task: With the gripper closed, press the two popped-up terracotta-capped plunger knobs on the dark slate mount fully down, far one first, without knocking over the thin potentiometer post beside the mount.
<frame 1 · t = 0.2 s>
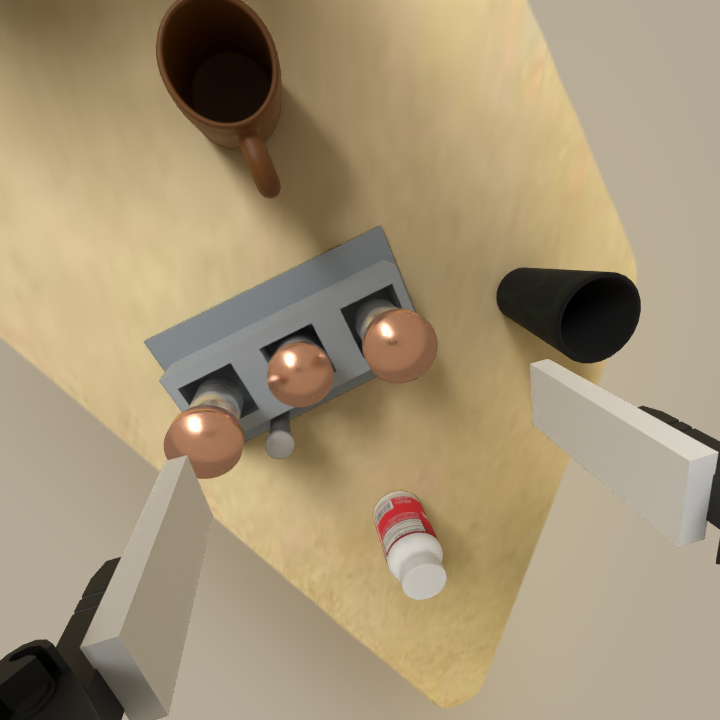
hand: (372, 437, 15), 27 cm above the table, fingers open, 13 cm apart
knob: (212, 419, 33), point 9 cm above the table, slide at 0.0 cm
cup: (519, 293, 45), on the table
pill bottle: (395, 508, 51), on the table
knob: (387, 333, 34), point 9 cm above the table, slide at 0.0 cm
mount: (296, 344, 42), on the table
mug: (246, 130, 35), on the table
pot post: (280, 412, 43), point 1 cm above the table, touching mount
knob mid: (298, 360, 37), point 5 cm above the table, slide at 4.0 cm
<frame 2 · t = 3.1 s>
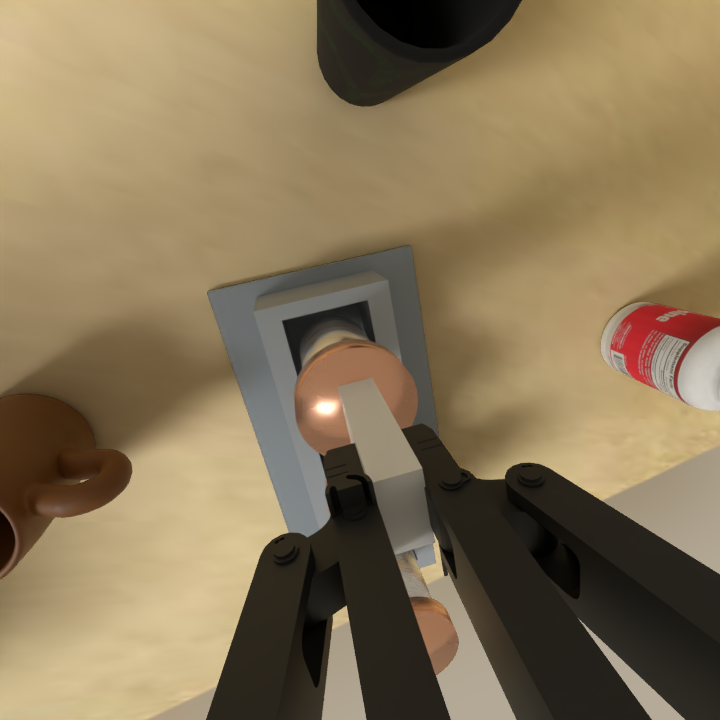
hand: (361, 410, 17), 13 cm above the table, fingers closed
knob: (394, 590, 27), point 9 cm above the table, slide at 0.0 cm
cup: (363, 53, 24), on the table
pill bottle: (627, 335, 35), on the table
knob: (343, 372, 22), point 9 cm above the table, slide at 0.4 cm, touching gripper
mount: (348, 423, 32), on the table
mug: (74, 432, 29), on the table
knob mid: (360, 458, 28), point 5 cm above the table, slide at 4.0 cm
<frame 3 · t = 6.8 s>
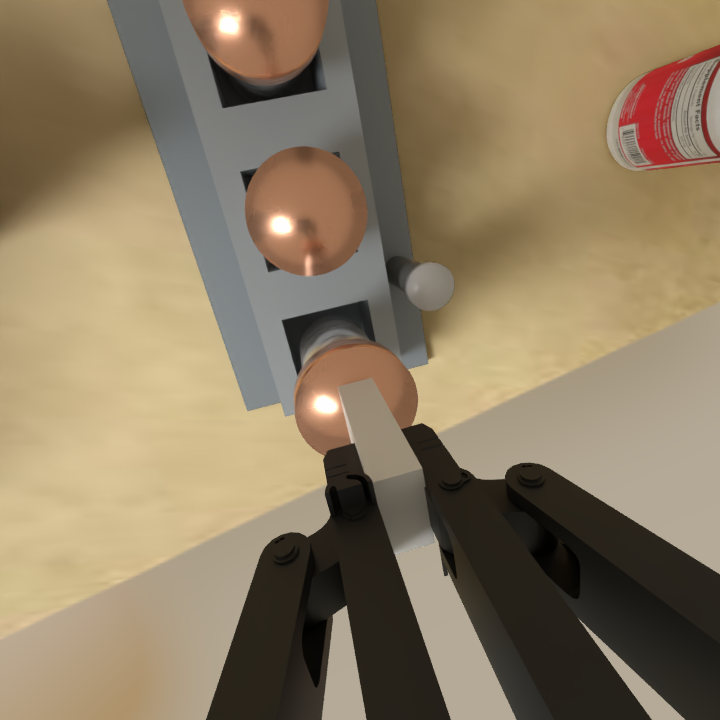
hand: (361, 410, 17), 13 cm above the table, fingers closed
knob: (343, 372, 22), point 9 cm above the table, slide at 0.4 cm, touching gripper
pill bottle: (639, 124, 29), on the table
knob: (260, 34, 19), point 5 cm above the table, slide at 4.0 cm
mount: (298, 213, 27), on the table
pot post: (397, 270, 28), point 1 cm above the table, touching mount
knob mid: (302, 213, 22), point 5 cm above the table, slide at 4.0 cm
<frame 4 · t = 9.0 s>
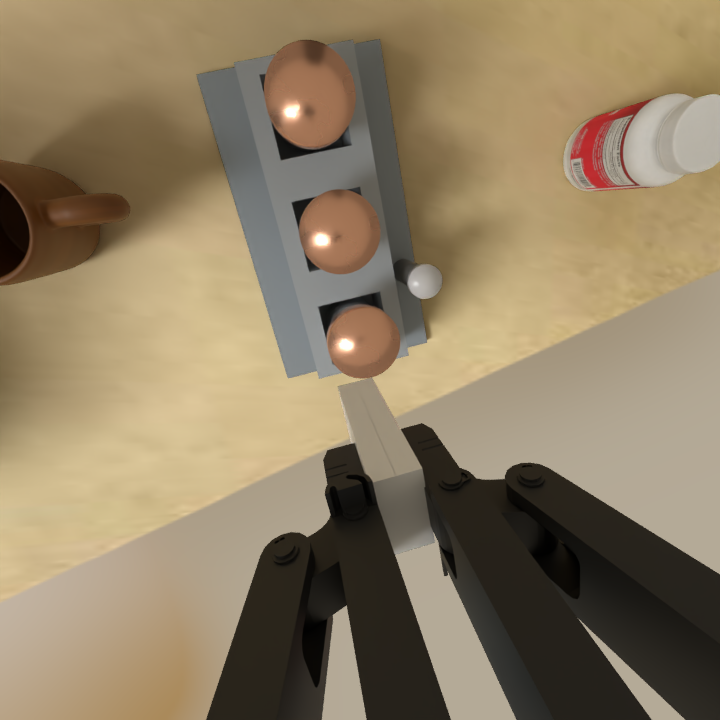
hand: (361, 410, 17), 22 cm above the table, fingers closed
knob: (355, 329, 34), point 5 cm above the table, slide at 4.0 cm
pill bottle: (589, 155, 37), on the table
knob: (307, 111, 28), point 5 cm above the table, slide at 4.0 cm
mount: (327, 227, 36), on the table
mug: (81, 216, 32), on the table
pot post: (402, 270, 37), point 1 cm above the table, touching mount
knob mid: (334, 230, 31), point 5 cm above the table, slide at 4.0 cm
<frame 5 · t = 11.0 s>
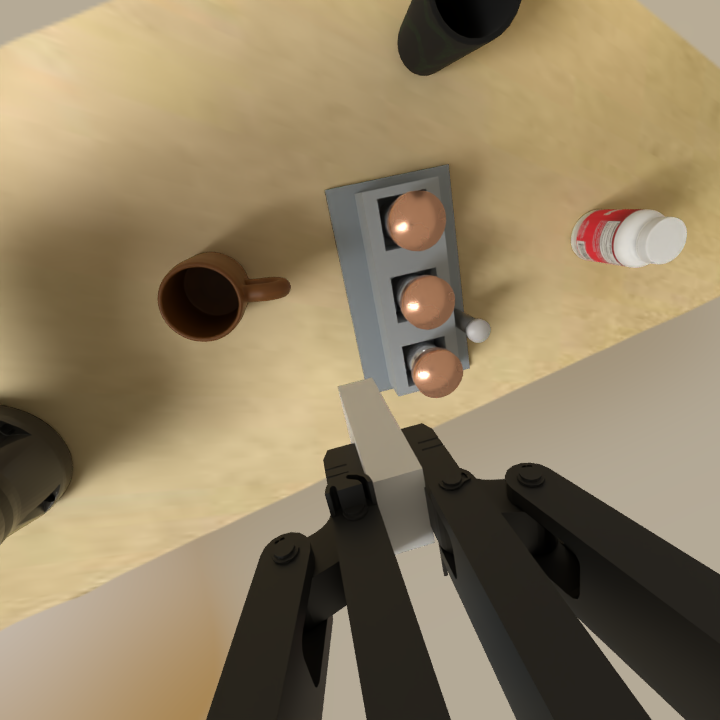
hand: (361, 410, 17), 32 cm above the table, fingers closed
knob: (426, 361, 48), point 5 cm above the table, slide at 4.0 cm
cup: (423, 44, 41), on the table
pill bottle: (589, 235, 52), on the table
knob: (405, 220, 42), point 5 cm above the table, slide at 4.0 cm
mount: (403, 287, 50), on the table
mug: (235, 282, 46), on the table
pot post: (455, 316, 51), point 1 cm above the table, touching mount
knob mid: (416, 295, 45), point 5 cm above the table, slide at 4.0 cm
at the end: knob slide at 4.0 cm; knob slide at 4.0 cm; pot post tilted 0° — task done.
